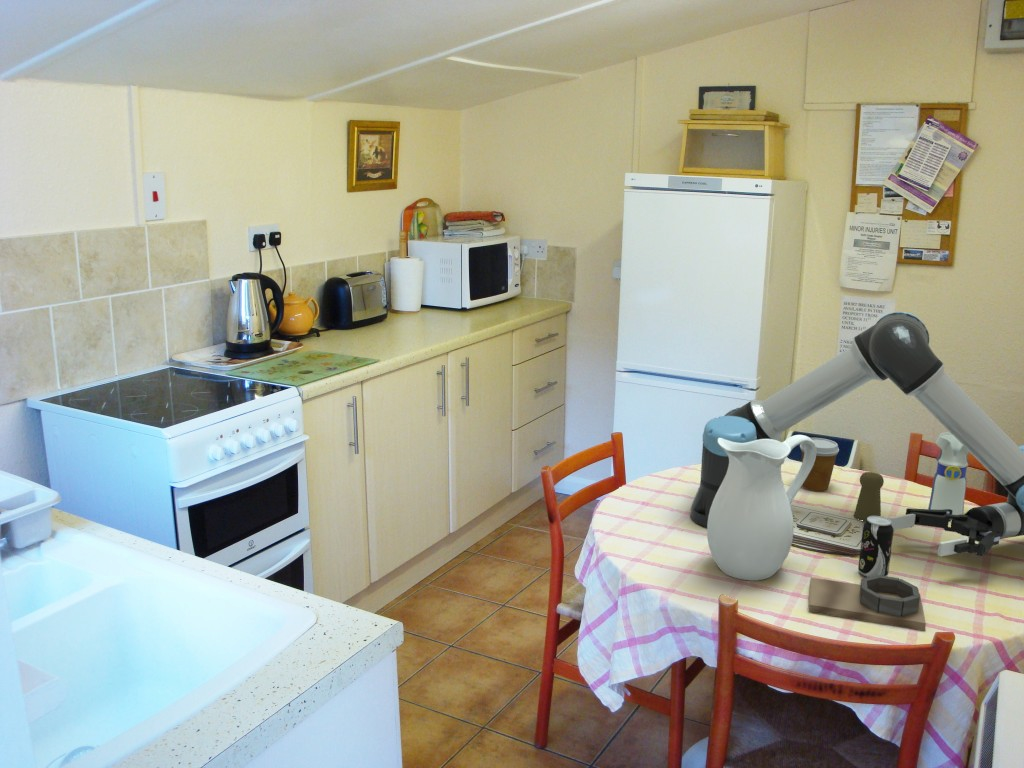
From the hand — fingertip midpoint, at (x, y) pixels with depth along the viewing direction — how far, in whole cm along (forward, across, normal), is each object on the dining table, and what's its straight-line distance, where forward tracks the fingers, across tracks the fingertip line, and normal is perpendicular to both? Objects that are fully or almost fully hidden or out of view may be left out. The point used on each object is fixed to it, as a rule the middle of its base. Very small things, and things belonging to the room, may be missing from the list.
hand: (913, 536), depth 188 cm
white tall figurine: (-30, +20, -7) cm, 37 cm away
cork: (-11, +24, -7) cm, 28 cm away
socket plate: (+21, -10, -7) cm, 24 cm away
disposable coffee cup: (-13, +45, -7) cm, 48 cm away
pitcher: (+29, +11, -7) cm, 32 cm away
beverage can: (+10, 0, -7) cm, 12 cm away
